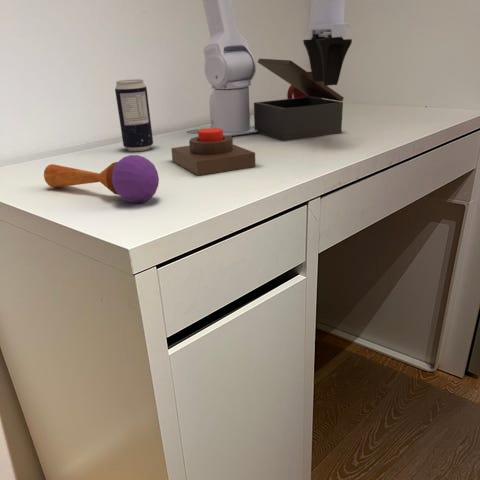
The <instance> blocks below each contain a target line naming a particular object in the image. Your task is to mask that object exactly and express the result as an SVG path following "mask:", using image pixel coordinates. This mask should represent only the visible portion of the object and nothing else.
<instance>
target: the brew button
mask: <svg viewBox="0 0 480 480" xmlns="http://www.w3.org/2000/svg"><path fill="white" fill-rule="evenodd" d="M197 134H198V135H197V137H198V138H199V141H202V142H213V141H221V140H223V130H222V129H220V128H211V127H208V128H201V129H198V130H197Z"/></svg>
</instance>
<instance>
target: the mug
mask: <svg viewBox="0 0 480 480" xmlns="http://www.w3.org/2000/svg"><path fill="white" fill-rule="evenodd" d="M303 69H304V70H305V71H307V72H308V73H310V74H311V75H312V72H311V68H303ZM321 82H322V83H324V81H321ZM286 95H287V98H286V99H292V98H302V97H311V96H307V95H306V94H304V93H303V92H301V91H300V90H298V89H297V88H295V87H294V86H292V85H291V84H290V86H289V87H288V90H287V94H286ZM314 98H317V97H314ZM320 99H323V98H320Z"/></svg>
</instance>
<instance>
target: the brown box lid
mask: <svg viewBox="0 0 480 480" xmlns="http://www.w3.org/2000/svg"><path fill="white" fill-rule="evenodd" d="M257 63H258V64H259V65H260V66H262V67H264V68H265V69H267V70H268V71H269V72H271V73H272V74H274V75H275V76H277V77H279V78H280V79H282V80H283V81H285V82H286V83H287V84H289V85H290V86H291V85H292V86H294V87H295V88H297V89H298V90H300V91H301V92H303V93H304V94H306V95H307V96H311V97H317V98H322V99H327V100H333V101H339V102H343V101H344V99H345V97H344V96H342V95H341V94H340V93H339V92H337V91H335V90H334V89H332V88H331V87H330V86H329V85H327V86H326V85H325V84H324V83H322V82H321V81H319V82H313V78H312V75H311V74H310V73H308V72H307V71H305V70H304V69H305V68H303V67H301V66H300V65H298V64H297V63H296V62H294V61H292V60H291V59H272V58H258V60H257Z"/></svg>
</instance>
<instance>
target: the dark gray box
mask: <svg viewBox="0 0 480 480" xmlns="http://www.w3.org/2000/svg"><path fill="white" fill-rule="evenodd" d="M343 108H344V102H343V101H336V100H330V99H324V98H322V99H320V98H314V97H302V98H292V99H288V98H285V99H276V100H275V99H274V100H265V101H257V102H253V121H254V124H253V125H254V126H253V127H254V129H255V130H258V132H257V133H258V134H261V135H264V136H267V137H270V138H274V139H277V140H280V141H283V142H285V141H291V140H292V141H293V140H298V139H307V138H313V137H321V136H326V135H327V136H328V135H333V134H341V133H342V131H343V130H342V127H343V126H342V125H343V111H344V110H343Z"/></svg>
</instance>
